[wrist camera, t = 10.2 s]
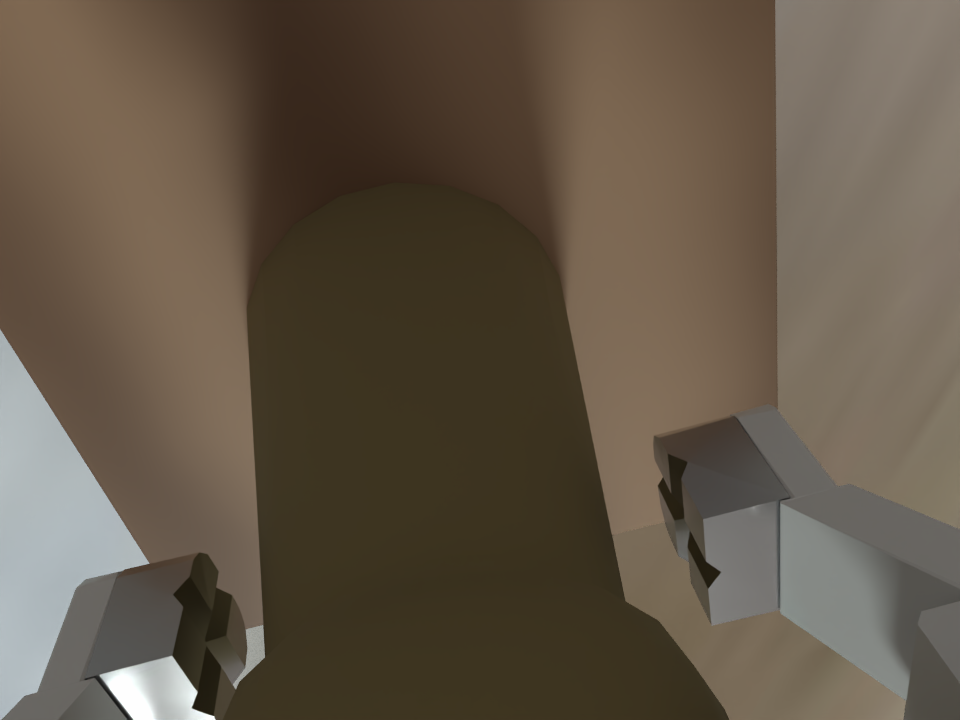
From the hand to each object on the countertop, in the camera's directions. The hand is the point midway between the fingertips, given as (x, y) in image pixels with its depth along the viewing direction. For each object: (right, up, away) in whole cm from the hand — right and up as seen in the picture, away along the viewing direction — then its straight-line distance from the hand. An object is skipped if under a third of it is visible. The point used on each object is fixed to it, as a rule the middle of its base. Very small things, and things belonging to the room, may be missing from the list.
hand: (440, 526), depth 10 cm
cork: (-1, +3, +5) cm, 6 cm away
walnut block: (-2, +6, +10) cm, 12 cm away
